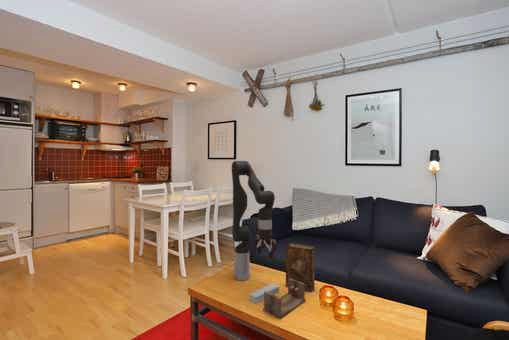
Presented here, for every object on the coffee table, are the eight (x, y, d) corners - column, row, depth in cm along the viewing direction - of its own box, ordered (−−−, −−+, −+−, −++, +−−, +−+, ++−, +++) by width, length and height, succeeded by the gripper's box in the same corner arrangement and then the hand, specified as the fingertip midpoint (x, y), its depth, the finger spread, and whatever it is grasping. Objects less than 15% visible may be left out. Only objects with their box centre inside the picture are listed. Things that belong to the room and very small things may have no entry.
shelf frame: (263, 310, 135) (263, 291, 135) (288, 294, 151) (288, 277, 151) (280, 319, 128) (280, 299, 127) (305, 301, 144) (305, 283, 143)
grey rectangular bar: (249, 301, 145) (249, 293, 145) (272, 290, 157) (272, 283, 157) (255, 304, 141) (255, 297, 141) (279, 293, 153) (279, 286, 153)
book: (315, 288, 158) (315, 246, 156) (312, 292, 153) (312, 249, 152) (289, 282, 165) (288, 242, 164) (285, 286, 160) (285, 245, 159)
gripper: (251, 226, 149) (251, 254, 150) (270, 231, 140) (270, 261, 141) (259, 223, 155) (259, 251, 156) (279, 228, 145) (279, 257, 146)
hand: (265, 255), depth 148 cm, fingers open, 8 cm apart
